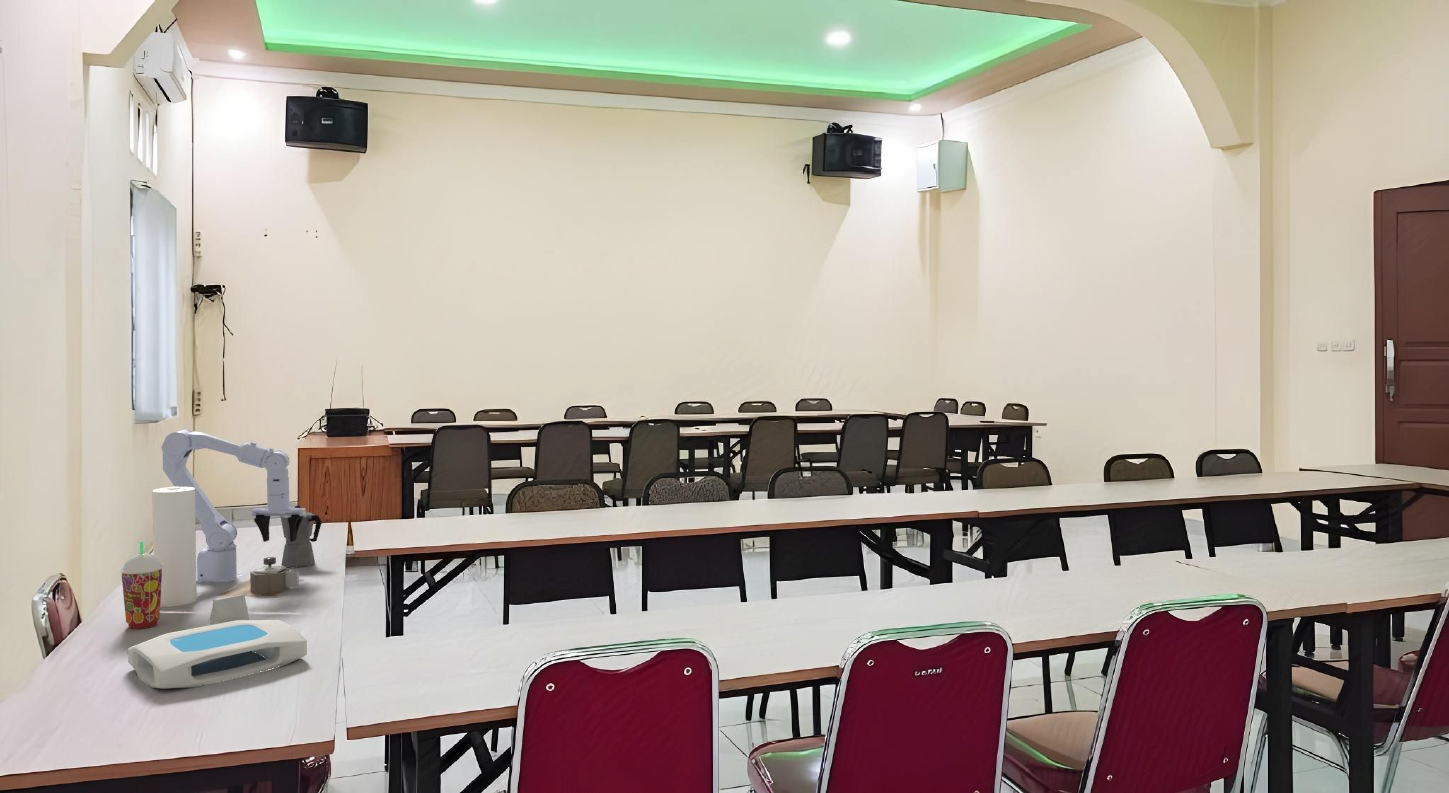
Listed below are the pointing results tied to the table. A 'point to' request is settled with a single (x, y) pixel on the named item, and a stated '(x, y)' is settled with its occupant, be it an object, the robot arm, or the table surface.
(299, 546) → the coffeepot
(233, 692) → the table surface
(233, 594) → the board
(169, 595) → the cylinder container
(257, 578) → the grey faceted block
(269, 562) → the plunger
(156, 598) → the smoothie
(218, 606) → the tea bag
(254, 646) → the document scanner
